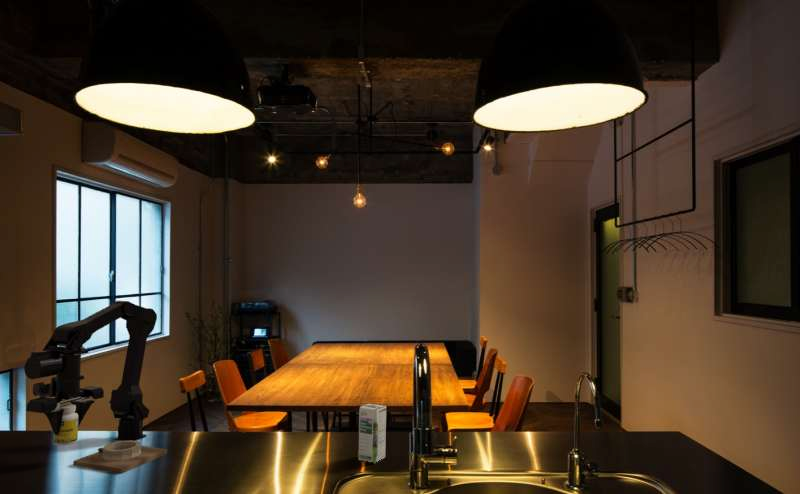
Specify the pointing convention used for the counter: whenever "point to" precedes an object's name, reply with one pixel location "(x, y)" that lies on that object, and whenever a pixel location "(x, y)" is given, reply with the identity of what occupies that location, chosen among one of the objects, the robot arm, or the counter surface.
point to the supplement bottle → (67, 426)
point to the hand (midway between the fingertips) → (66, 431)
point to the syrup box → (372, 432)
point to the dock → (119, 464)
